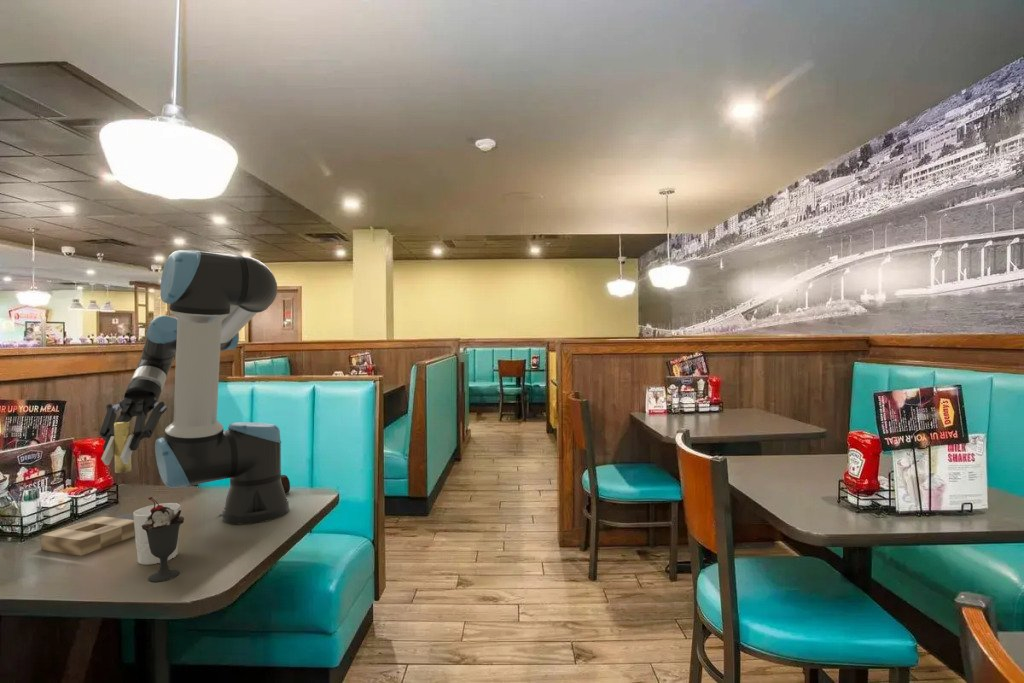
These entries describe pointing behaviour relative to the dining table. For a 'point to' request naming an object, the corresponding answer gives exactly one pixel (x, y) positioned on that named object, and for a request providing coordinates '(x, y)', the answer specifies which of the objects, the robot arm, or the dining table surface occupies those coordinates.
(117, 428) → the brass pin
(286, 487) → the bolt
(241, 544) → the dining table surface
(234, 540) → the dining table surface
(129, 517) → the rubber mat
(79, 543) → the oak socket block
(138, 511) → the white cup
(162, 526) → the sundae
